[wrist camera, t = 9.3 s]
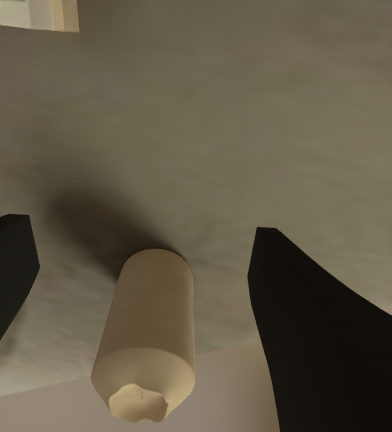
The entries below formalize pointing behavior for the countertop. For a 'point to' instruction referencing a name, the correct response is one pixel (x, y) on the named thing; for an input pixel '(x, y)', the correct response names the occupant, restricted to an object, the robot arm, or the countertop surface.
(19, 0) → the sage block
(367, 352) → the robot arm
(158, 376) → the candle
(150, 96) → the countertop surface
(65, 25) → the tower base
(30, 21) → the tower top
